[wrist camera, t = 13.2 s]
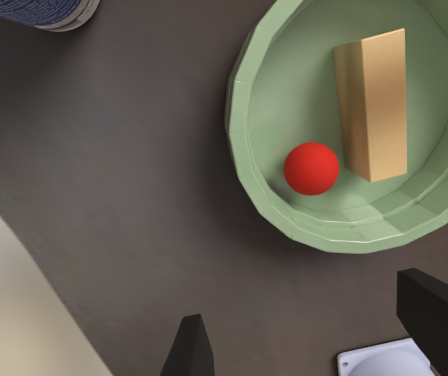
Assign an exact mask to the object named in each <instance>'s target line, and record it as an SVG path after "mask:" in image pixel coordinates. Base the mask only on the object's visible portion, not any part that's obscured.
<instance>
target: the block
mask: <svg viewBox="0 0 448 376" xmlns="http://www.w3.org/2000/svg"><path fill="white" fill-rule="evenodd" d="M333 55H334V65H335V75H336V85H337V95H338V105H339V114H340V124H341V134H342V144H343V154H344V164H345V168H347V169H349V170H350V171H352V172H353V173H355V174H357V175H358V176H360V177H361V178H363V179H365V180H366V181H368V182H370V183H374V182H377V181H381V180H385V179H389V178H393V177H397V176H400V175H404V174H407V139H406V76H405V29H404V28H402V29H398V30H394V31H390V32H386V33H382V34H378V35H374V36H370V37H366V38H363V39H359V40H355V41H352V42H348V43H344V44H341V45H337V46H334V47H333Z"/></svg>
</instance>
